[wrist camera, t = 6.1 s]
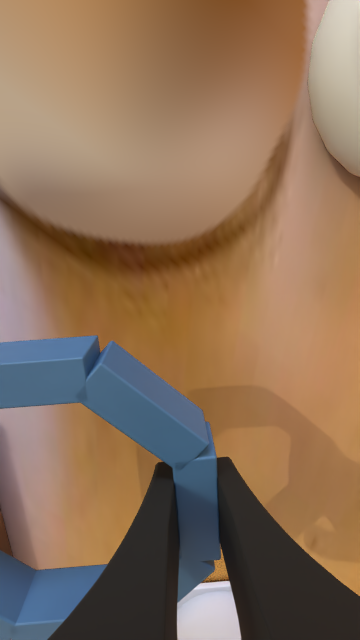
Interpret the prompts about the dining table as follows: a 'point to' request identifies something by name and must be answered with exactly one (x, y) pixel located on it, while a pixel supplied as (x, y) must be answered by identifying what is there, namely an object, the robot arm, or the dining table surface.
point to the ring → (137, 423)
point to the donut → (337, 82)
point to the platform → (4, 538)
